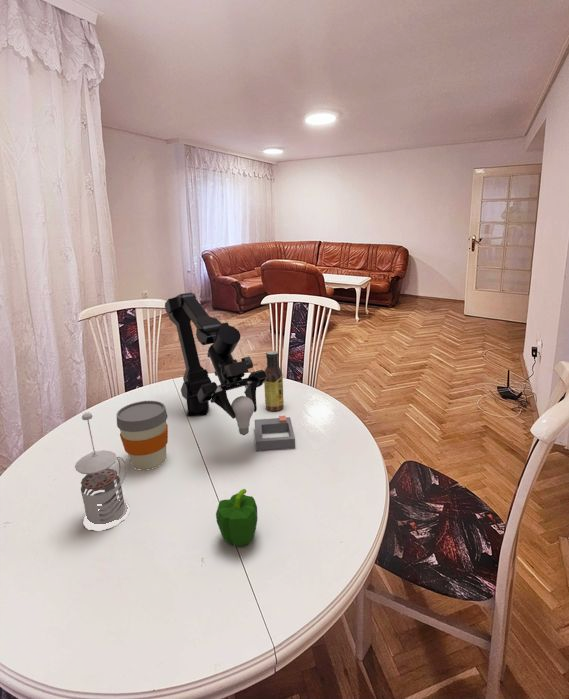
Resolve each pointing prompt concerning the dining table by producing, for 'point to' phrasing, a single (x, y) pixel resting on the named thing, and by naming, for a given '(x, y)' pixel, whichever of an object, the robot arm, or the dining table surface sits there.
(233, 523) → the bell pepper
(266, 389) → the sauce bottle
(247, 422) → the lightbulb
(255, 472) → the dining table surface
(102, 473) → the french press
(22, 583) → the dining table surface
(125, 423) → the reusable coffee cup
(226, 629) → the dining table surface
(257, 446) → the socket
